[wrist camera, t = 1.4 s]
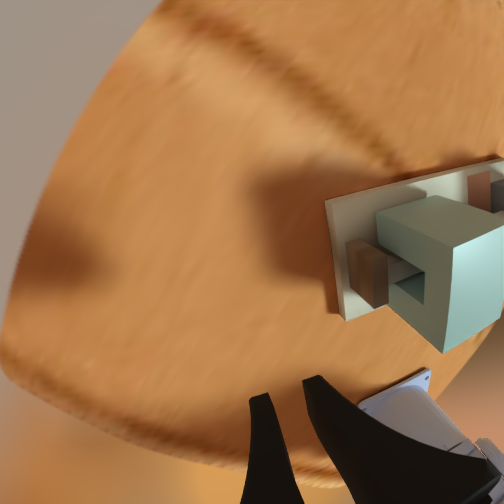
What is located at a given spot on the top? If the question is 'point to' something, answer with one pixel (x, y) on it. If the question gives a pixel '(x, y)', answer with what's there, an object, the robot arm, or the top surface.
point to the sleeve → (445, 267)
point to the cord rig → (366, 238)
